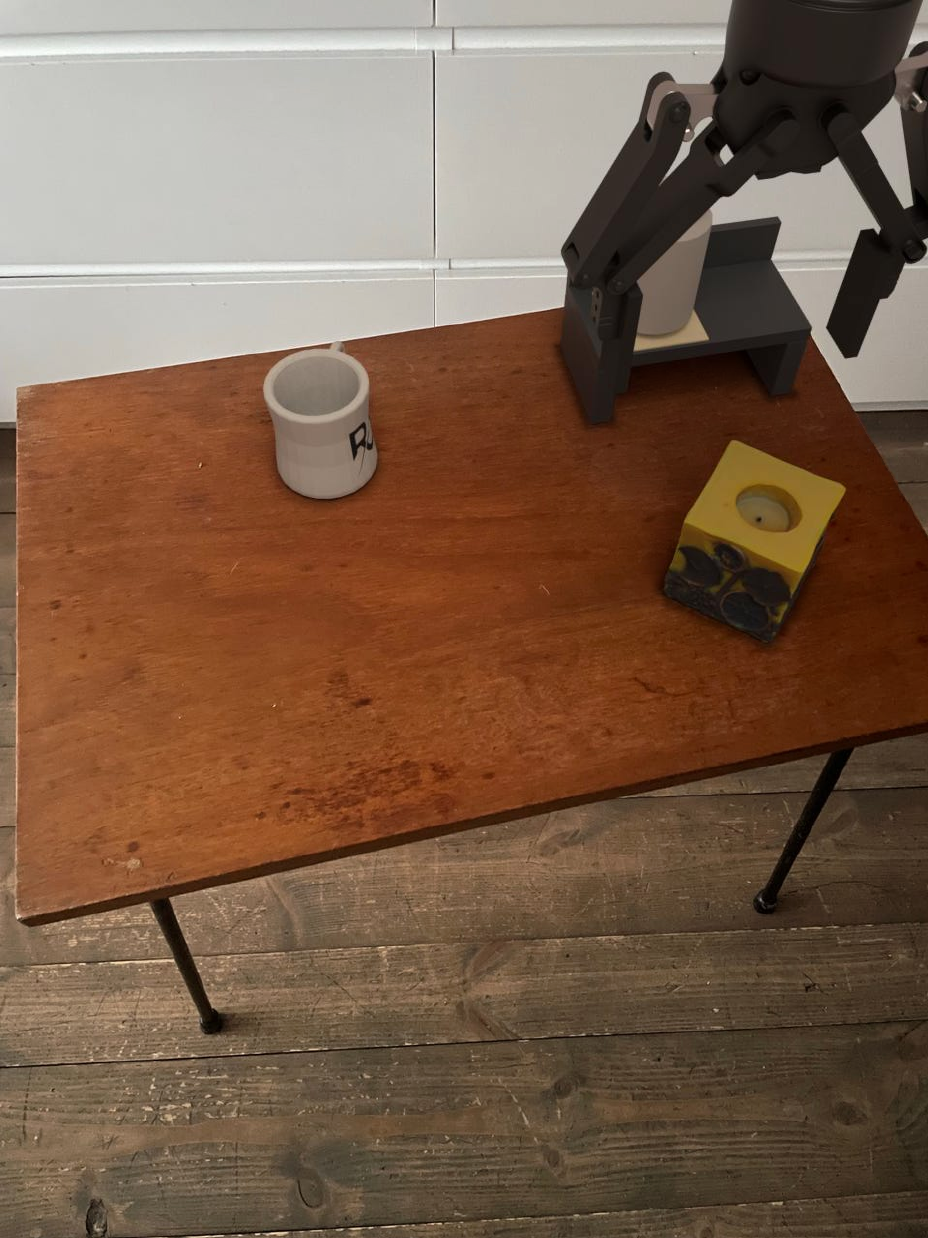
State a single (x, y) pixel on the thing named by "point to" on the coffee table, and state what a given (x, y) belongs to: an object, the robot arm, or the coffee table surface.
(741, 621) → the candle
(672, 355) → the shelf
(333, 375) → the mug
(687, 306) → the can
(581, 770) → the coffee table surface
